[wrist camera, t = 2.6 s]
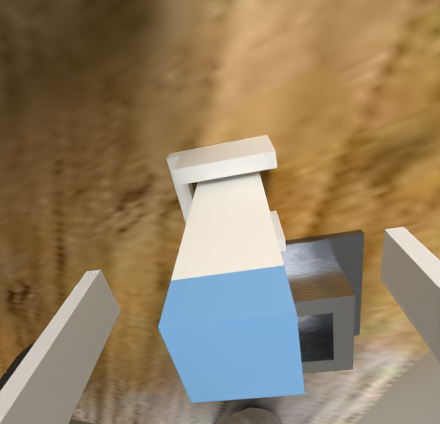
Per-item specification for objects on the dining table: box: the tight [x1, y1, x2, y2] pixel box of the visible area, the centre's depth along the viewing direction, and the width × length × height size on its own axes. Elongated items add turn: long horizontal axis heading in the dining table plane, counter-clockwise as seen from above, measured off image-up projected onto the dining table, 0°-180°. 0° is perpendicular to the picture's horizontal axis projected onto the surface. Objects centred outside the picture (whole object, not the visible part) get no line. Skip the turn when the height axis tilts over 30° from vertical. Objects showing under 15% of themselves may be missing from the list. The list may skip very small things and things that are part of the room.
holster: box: [166, 135, 286, 252], centre depth 19 cm, size 7×7×4 cm
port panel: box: [281, 230, 364, 374], centre depth 24 cm, size 12×13×5 cm
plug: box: [158, 171, 305, 403], centre depth 15 cm, size 4×4×14 cm
